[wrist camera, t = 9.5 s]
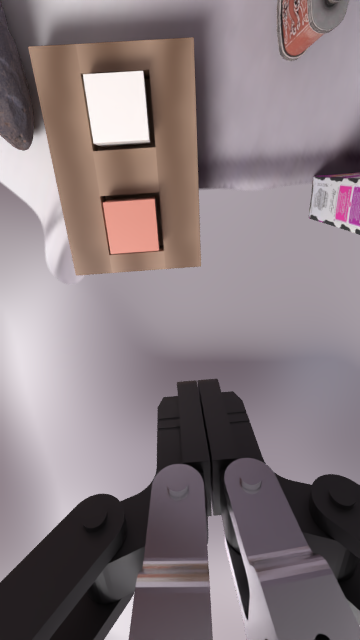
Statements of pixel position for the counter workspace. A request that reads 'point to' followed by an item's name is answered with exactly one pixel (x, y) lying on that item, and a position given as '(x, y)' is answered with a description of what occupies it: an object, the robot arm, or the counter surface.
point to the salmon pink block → (132, 224)
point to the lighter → (305, 23)
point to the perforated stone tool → (13, 93)
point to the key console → (124, 150)
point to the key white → (117, 108)
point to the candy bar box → (337, 201)
